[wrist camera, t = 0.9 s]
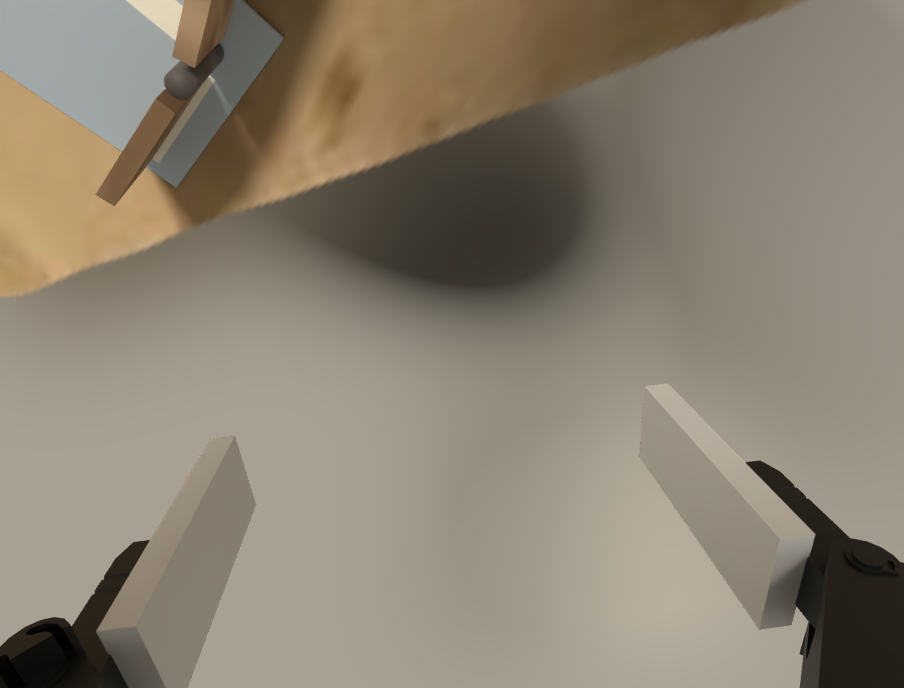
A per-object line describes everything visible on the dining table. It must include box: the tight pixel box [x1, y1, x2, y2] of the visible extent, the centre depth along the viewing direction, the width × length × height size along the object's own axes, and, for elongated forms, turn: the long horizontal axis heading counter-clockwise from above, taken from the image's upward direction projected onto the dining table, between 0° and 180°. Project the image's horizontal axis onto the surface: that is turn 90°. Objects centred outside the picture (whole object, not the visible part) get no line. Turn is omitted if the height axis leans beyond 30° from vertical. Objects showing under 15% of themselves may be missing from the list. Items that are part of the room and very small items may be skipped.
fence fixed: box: [96, 43, 224, 206], centre depth 35 cm, size 2×11×8 cm, turn 134°
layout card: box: [0, 0, 284, 188], centre depth 34 cm, size 16×15×1 cm
